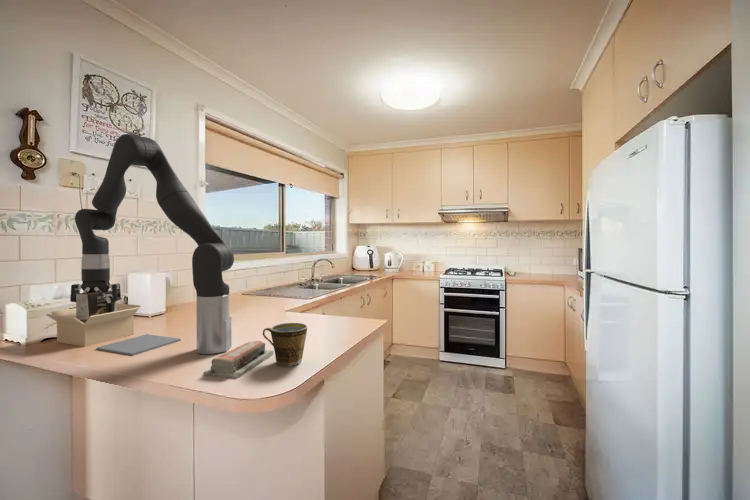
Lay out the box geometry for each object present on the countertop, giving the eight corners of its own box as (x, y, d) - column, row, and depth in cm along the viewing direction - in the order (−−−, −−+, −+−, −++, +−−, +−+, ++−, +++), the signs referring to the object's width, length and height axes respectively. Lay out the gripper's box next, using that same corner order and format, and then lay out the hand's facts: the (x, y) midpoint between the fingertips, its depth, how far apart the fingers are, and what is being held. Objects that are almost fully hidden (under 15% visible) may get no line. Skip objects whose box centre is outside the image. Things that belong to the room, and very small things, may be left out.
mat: (180, 340, 112) (180, 338, 112) (132, 355, 97) (132, 353, 97) (146, 335, 118) (146, 334, 118) (96, 349, 102) (96, 347, 102)
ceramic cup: (312, 357, 96) (312, 323, 96) (298, 370, 87) (298, 332, 86) (271, 354, 99) (271, 321, 99) (253, 366, 89) (253, 330, 89)
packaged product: (238, 361, 81) (202, 358, 83) (238, 380, 82) (202, 377, 83) (274, 339, 99) (244, 337, 101) (274, 355, 99) (244, 353, 101)
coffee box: (90, 342, 110) (90, 294, 109) (75, 341, 111) (74, 293, 111) (117, 334, 119) (116, 290, 118) (102, 333, 120) (102, 289, 120)
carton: (147, 332, 121) (146, 305, 121) (80, 350, 102) (80, 318, 101) (110, 327, 128) (109, 302, 128) (40, 343, 108) (40, 313, 108)
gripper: (125, 266, 119) (125, 311, 119) (80, 266, 117) (80, 312, 117) (111, 268, 112) (112, 315, 112) (64, 268, 109) (64, 316, 110)
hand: (96, 313), depth 115 cm, fingers open, 8 cm apart
